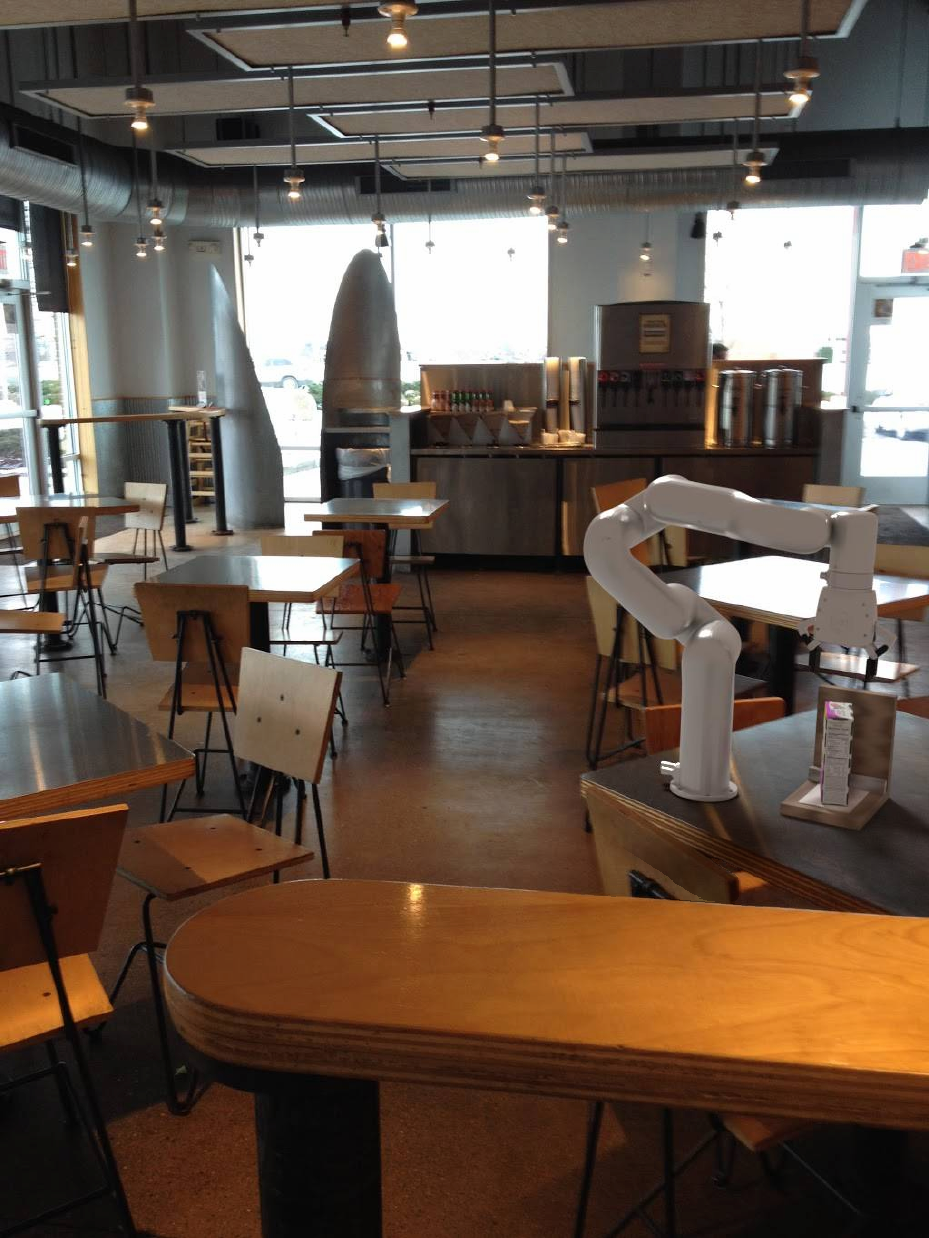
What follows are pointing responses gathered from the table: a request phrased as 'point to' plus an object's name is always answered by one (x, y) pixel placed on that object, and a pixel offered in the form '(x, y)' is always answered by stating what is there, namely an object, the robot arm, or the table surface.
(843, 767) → the candy bar box
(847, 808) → the display stand
